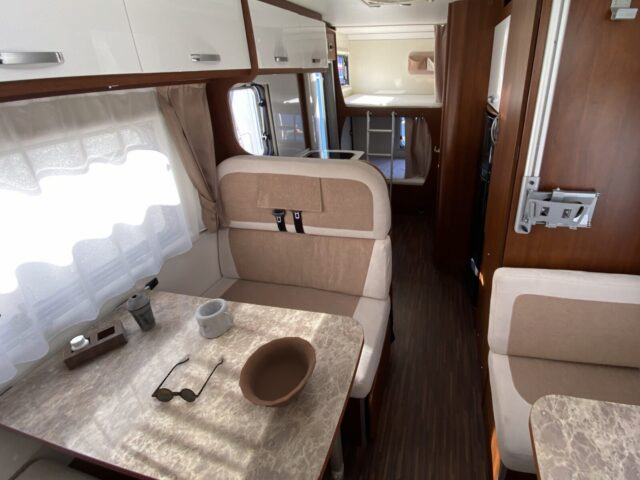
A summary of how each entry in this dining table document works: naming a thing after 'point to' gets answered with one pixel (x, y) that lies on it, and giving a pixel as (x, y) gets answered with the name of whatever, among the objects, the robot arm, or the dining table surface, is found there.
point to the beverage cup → (141, 310)
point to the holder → (96, 345)
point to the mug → (214, 318)
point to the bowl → (277, 371)
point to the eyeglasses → (185, 393)
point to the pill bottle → (79, 343)
